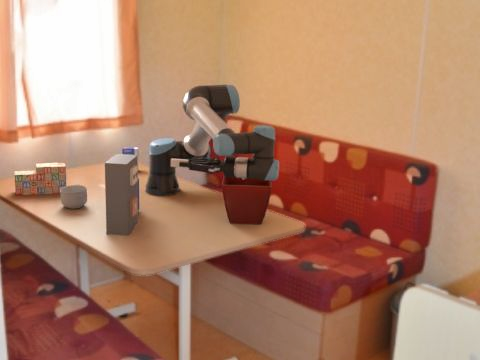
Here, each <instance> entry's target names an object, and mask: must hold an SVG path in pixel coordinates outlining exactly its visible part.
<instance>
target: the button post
mask: <svg viewBox="0 0 480 360" xmlns="http://www.w3.org/2000/svg"><path fill="white" fill-rule="evenodd" d="M134 165H135V166H137V182H136V183H135V184H134V185H133V186H130V168H131V167H133V166H134ZM138 172H139V157H138V158H137V155H128V154H122V153H116V154H114V155H113V156H112V157H111V158H109V159H108V160H106V161H105V162H104V177H105V178H104V181H105V183H104V186H105V188H104V190H105V229H106V230H105V231H106V235H115V236H117V235H118V236H127V237H128V236H129V235H130V234H131V233H132V231H133V230H134V229H135V227H137V225H138V224H139V211H138V212H137V213H136V214H135V215H134V217H130V200H131V199H132V198H133V197H134V196H137V197H138V178H139V177H138V175H139V174H138Z"/></svg>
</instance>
